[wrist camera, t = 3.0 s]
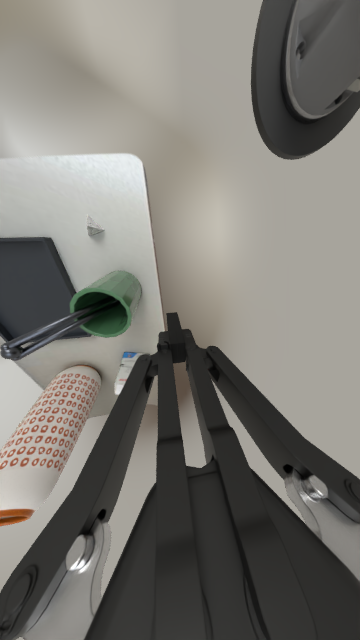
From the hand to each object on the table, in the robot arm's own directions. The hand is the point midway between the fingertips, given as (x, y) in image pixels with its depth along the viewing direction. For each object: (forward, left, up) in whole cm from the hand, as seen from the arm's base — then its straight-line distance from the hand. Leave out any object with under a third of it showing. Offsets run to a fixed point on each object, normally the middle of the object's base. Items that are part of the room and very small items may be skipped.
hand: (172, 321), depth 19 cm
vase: (+38, -19, -18) cm, 46 cm away
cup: (+4, -10, -18) cm, 21 cm away
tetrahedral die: (-7, -17, -18) cm, 25 cm away
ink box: (+27, -3, -18) cm, 32 cm away
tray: (+12, -30, -18) cm, 37 cm away
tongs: (+4, -12, -7) cm, 14 cm away
